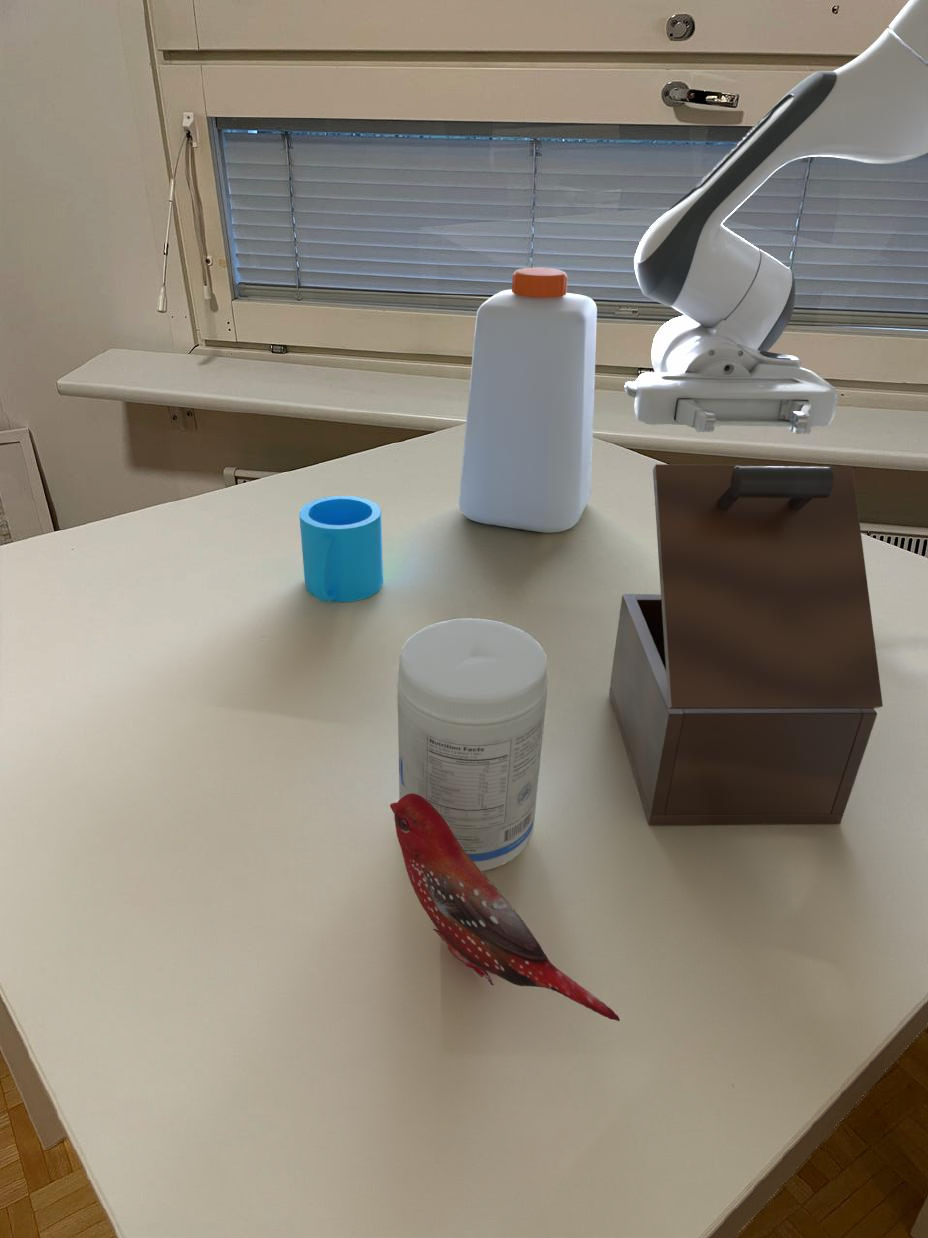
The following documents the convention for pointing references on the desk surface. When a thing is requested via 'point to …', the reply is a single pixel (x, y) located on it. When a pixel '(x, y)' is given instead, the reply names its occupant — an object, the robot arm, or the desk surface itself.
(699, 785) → the chest
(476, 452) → the plastic bottle
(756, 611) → the chest lid
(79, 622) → the desk surface
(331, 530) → the mug
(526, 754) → the supplement tub
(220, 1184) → the desk surface
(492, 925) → the decorative bird figurine
